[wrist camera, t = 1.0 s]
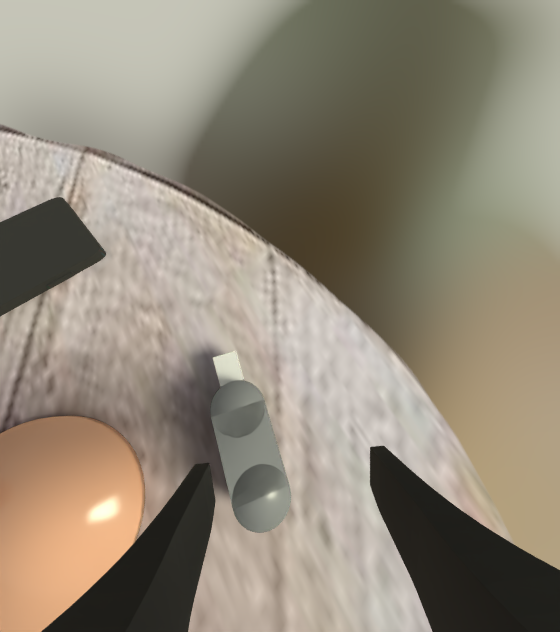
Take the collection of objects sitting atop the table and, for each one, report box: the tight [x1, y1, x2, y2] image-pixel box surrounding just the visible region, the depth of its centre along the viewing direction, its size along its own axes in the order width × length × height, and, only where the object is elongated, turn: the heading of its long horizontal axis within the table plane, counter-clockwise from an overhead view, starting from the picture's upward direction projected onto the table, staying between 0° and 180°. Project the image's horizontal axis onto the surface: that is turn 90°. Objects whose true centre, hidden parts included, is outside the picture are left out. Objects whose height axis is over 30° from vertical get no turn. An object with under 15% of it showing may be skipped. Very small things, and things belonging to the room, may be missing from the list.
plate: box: [0, 416, 145, 632], centre depth 19 cm, size 14×14×1 cm
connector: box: [210, 351, 291, 533], centre depth 21 cm, size 12×4×5 cm, turn 18°
